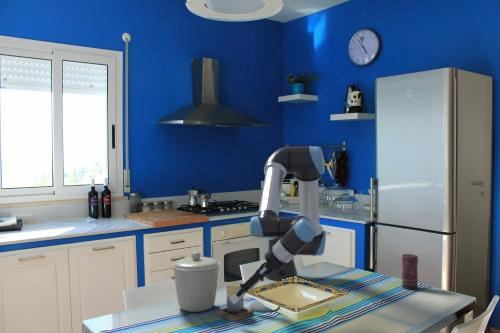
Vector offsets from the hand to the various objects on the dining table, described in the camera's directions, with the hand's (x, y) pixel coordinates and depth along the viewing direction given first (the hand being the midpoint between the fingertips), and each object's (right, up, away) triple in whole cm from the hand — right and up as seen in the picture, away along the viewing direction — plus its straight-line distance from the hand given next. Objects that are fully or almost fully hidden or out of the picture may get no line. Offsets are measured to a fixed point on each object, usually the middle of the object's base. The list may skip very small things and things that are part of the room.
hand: (239, 295), depth 156 cm
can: (+72, -6, +32) cm, 79 cm away
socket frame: (-1, -7, +2) cm, 8 cm away
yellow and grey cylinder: (-1, -7, +2) cm, 8 cm away
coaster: (+9, -7, +9) cm, 15 cm away
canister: (-16, -8, +10) cm, 20 cm away
